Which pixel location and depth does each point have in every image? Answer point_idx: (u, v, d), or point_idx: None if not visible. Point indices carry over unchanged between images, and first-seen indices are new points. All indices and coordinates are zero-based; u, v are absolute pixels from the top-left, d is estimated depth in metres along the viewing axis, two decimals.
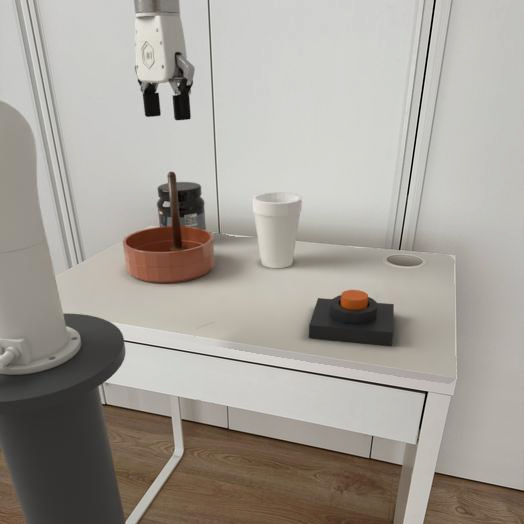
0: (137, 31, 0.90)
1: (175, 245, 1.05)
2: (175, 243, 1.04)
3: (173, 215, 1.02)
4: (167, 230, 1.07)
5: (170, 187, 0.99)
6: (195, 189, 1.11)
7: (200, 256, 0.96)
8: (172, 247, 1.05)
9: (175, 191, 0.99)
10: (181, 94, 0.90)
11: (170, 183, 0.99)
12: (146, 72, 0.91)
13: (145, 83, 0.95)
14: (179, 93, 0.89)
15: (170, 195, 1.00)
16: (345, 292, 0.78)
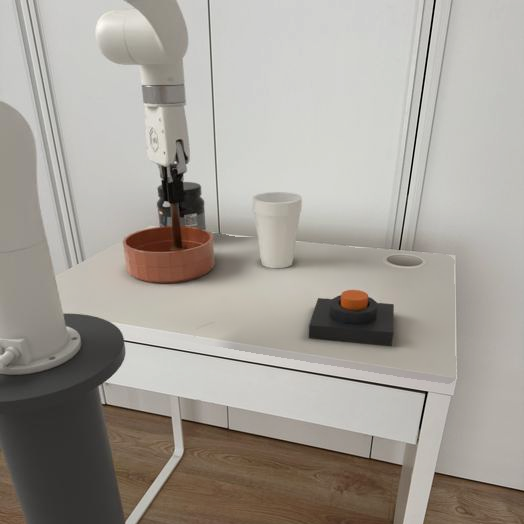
0: (146, 117, 0.94)
1: (175, 245, 1.05)
2: (175, 243, 1.04)
3: (173, 215, 1.02)
4: (167, 230, 1.07)
5: None
6: (195, 189, 1.11)
7: (200, 256, 0.96)
8: (172, 247, 1.05)
9: None
10: (173, 181, 0.97)
11: None
12: (153, 154, 0.96)
13: (161, 167, 0.98)
14: (171, 181, 0.97)
15: None
16: (345, 292, 0.78)
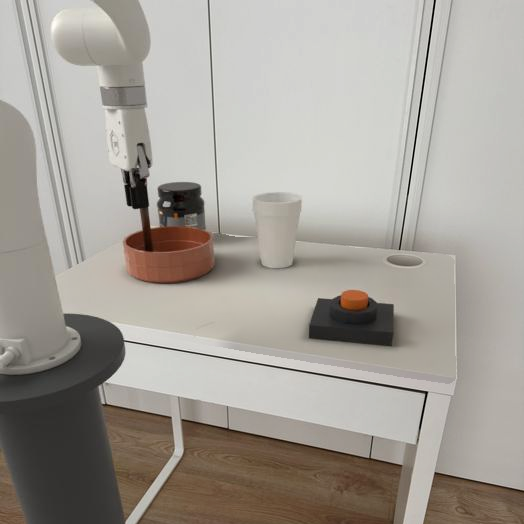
0: (106, 119, 0.91)
1: (151, 250, 1.02)
2: (151, 248, 1.02)
3: (149, 219, 0.99)
4: (167, 230, 1.07)
5: None
6: (195, 189, 1.11)
7: (200, 256, 0.96)
8: None
9: None
10: (137, 186, 0.94)
11: None
12: (114, 158, 0.93)
13: (123, 171, 0.95)
14: (134, 186, 0.93)
15: None
16: (345, 292, 0.78)
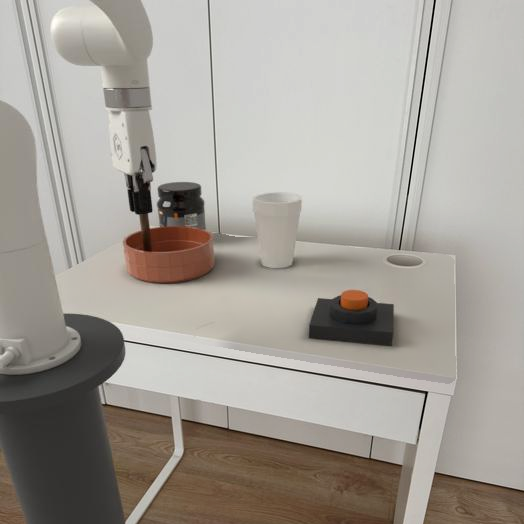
0: (110, 122, 0.88)
1: None
2: None
3: None
4: (167, 230, 1.07)
5: None
6: (195, 189, 1.11)
7: (200, 256, 0.96)
8: None
9: None
10: (140, 191, 0.91)
11: None
12: (117, 162, 0.90)
13: (126, 175, 0.92)
14: (137, 190, 0.90)
15: None
16: (345, 292, 0.78)
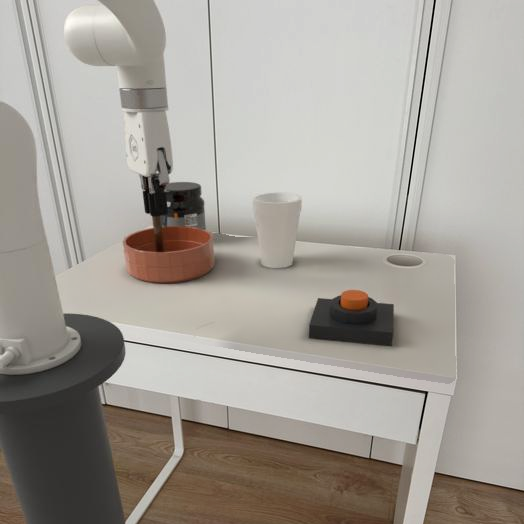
0: (125, 122, 0.87)
1: None
2: None
3: None
4: (167, 230, 1.07)
5: None
6: (195, 189, 1.11)
7: (200, 256, 0.96)
8: None
9: None
10: (155, 193, 0.89)
11: None
12: (133, 163, 0.89)
13: (142, 177, 0.91)
14: (153, 192, 0.89)
15: None
16: (345, 292, 0.78)
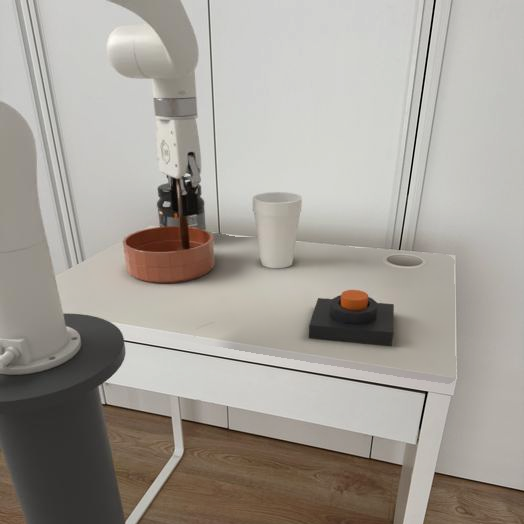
0: (158, 129, 0.95)
1: (182, 246, 1.04)
2: (182, 244, 1.04)
3: (180, 216, 1.01)
4: (167, 230, 1.07)
5: (177, 188, 0.98)
6: None
7: (200, 256, 0.96)
8: (180, 247, 1.05)
9: None
10: (188, 194, 0.96)
11: (177, 184, 0.98)
12: (164, 166, 0.96)
13: (170, 178, 0.99)
14: (185, 193, 0.96)
15: (177, 196, 0.99)
16: (345, 292, 0.78)
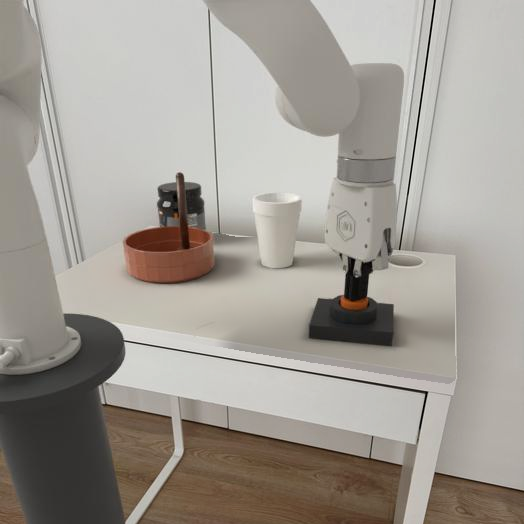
0: (334, 194, 0.71)
1: (182, 246, 1.04)
2: (182, 244, 1.04)
3: (180, 216, 1.01)
4: (167, 230, 1.07)
5: (177, 188, 0.98)
6: (195, 189, 1.11)
7: (200, 256, 0.96)
8: (180, 247, 1.05)
9: (182, 192, 0.99)
10: (361, 276, 0.74)
11: (177, 184, 0.98)
12: (339, 242, 0.72)
13: (346, 257, 0.74)
14: (359, 275, 0.73)
15: (177, 196, 0.99)
16: None
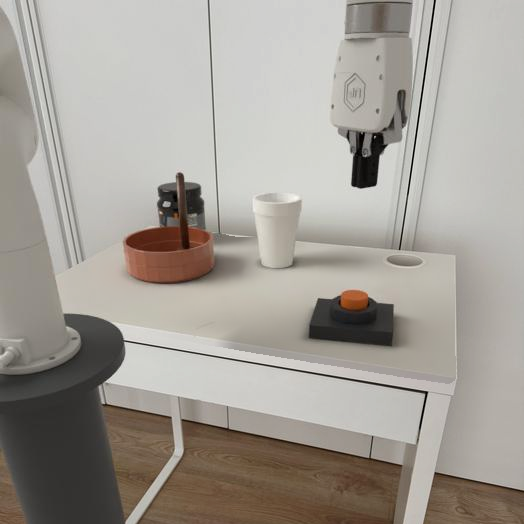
0: (342, 58, 0.63)
1: (182, 246, 1.04)
2: (182, 244, 1.04)
3: (180, 216, 1.01)
4: (167, 230, 1.07)
5: (177, 188, 0.98)
6: (195, 189, 1.11)
7: (200, 256, 0.96)
8: (180, 247, 1.05)
9: (182, 192, 0.99)
10: (371, 155, 0.66)
11: (177, 184, 0.98)
12: (347, 115, 0.64)
13: (354, 135, 0.66)
14: (369, 154, 0.65)
15: (177, 196, 0.99)
16: (345, 292, 0.78)
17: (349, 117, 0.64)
